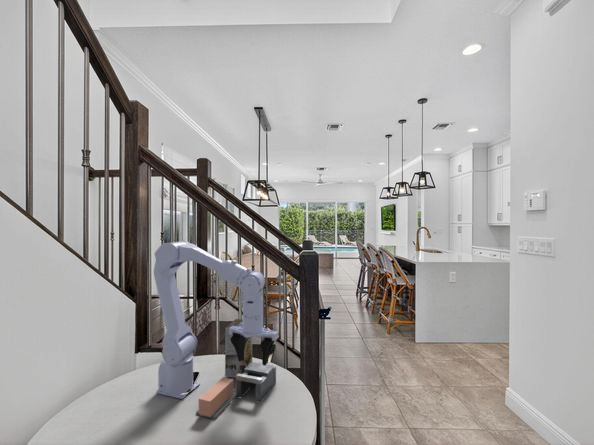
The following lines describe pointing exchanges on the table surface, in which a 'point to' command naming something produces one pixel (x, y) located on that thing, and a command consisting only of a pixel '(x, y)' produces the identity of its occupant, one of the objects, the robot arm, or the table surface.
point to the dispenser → (256, 380)
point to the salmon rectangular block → (215, 397)
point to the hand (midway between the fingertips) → (253, 361)
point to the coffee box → (231, 358)
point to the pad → (222, 406)
